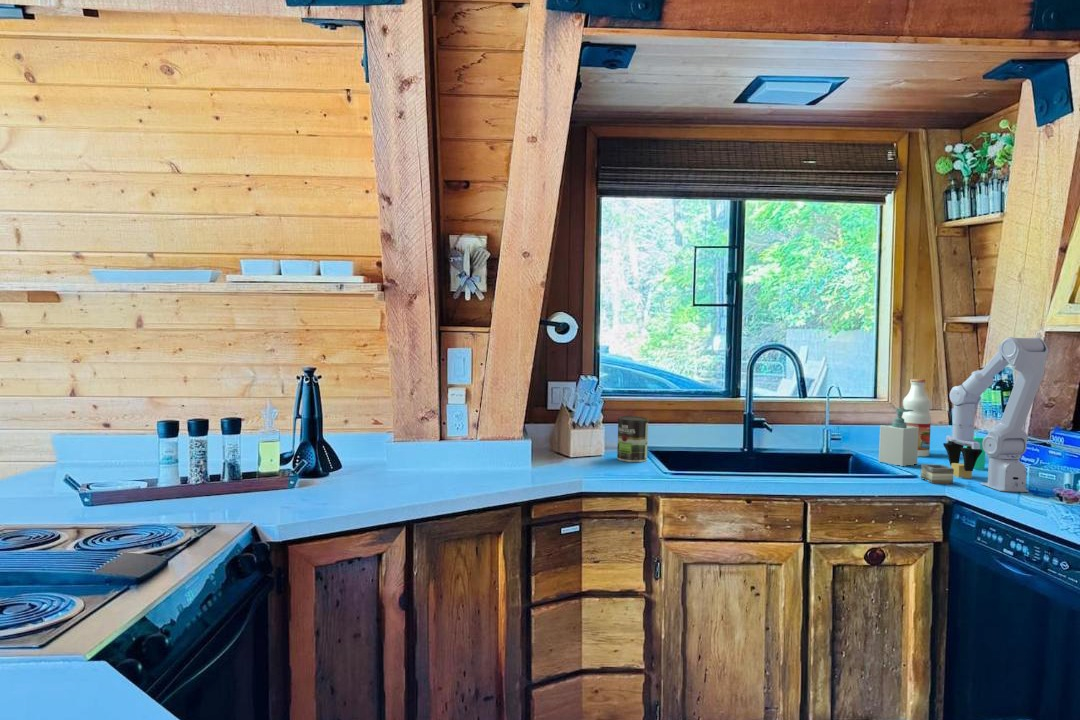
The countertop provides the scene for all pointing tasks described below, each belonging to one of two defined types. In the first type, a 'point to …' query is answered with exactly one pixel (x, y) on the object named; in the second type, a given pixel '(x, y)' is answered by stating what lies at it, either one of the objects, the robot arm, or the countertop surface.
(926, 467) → the tower base
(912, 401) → the fruit juice
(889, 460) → the soap bottle
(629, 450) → the coffee can
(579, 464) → the countertop surface
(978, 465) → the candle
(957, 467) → the ochre block
